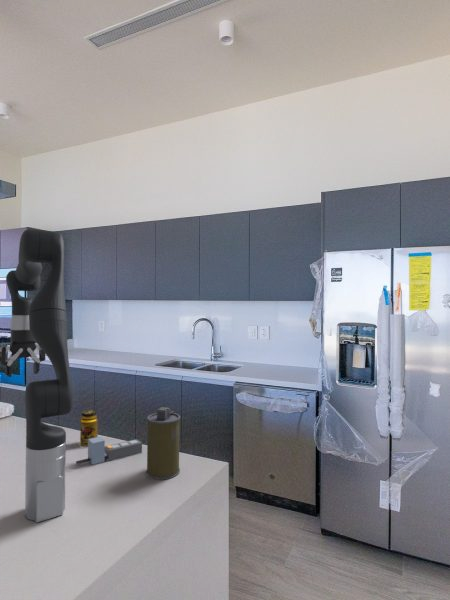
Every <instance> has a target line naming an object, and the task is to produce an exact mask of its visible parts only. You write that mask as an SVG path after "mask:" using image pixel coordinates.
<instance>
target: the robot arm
mask: <svg viewBox="0 0 450 600" xmlns="http://www.w3.org/2000/svg"><path fill="white" fill-rule="evenodd" d="M42 264H50V272H49V274H48V277H47V278H46V279H45V282H44V284H43V285H42V286H41V284H42V283H41V274H42V272H43V271H42V270H43V266H42ZM5 281H6V282H5V283H6V285H7V288H8V292H9V295H10V300H11V319H10V345H9V346H0V365H1V366H2V365H3V366H4V374H5V376H6V377H8V378H12V366H11V365H13V363H14V362H15V361H16V360H17V359H23V358H30V359H31V360H32V361H33V363H32V364H33V367H32V368H33V369H32V370H33V374H34V375H37V374H38V373H39V372H40V363H42V362H44V361H46V356H47V357H48V359H49V361H50V362H51V365H52V367H53V370H54V373H55V377H56V378H55V379H45V380H36V381H31V382H29V383H28V384H27V386H26V388H25V394H24V395H25V396H24V403H25V418H26V419H25V423H26V424H25V426H26V427H25V428H26V429H25V432H26V433H25V487H24V488H25V492H24V493H25V499H24V500H25V501H24V505H25V506H24V507H25V508H24V509H25V510H24V512H25V513H24V514H25V515H24V516H25V518H27V520H29V521H34V522H35V523H40V522H43V521H46V520H49V519H53V518H55V517H58V516H62V515H63V514H64V510H65V509H66V459H67V457H66V456H67V455H66V452H67V451H66V449H67V446H66V445H67V444H66V443H67V433H66V430H65V429H64V428H63V427H60V426H55V425H49V424H46V423H44V422H42V419H44V418H45V419H46V418H51V417H57V416H58V417H59V416H64V415H68V414H69V413H70V412H71V411H72V410H73V409H72V408H73V402H74V395H73V383H72V377H71V369H70V363H69V350H68V317H67V305H66V293H65V241H64V238H63V235H62V234H61V233H60V232H58V231H51V230H42V229H30V228H28V229H25V230H24V231H23V232H22V233H21V235H20V239H19V246H18V264H17V267H16V268H15V269H14V270H10V271H9V272H8V273H7V274H6V276H5ZM38 290H39V291H38ZM34 291H38V292H37V293H36V294H35V296H34V298H30V297H24V296H22V295H21V294H20V293H19V292H34ZM36 349H37V350H38V356H37V355H36V353H35V350H36ZM8 352H10V353H11V354H10V355H9V356H8V358H7V360H6V354H8Z"/></svg>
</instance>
